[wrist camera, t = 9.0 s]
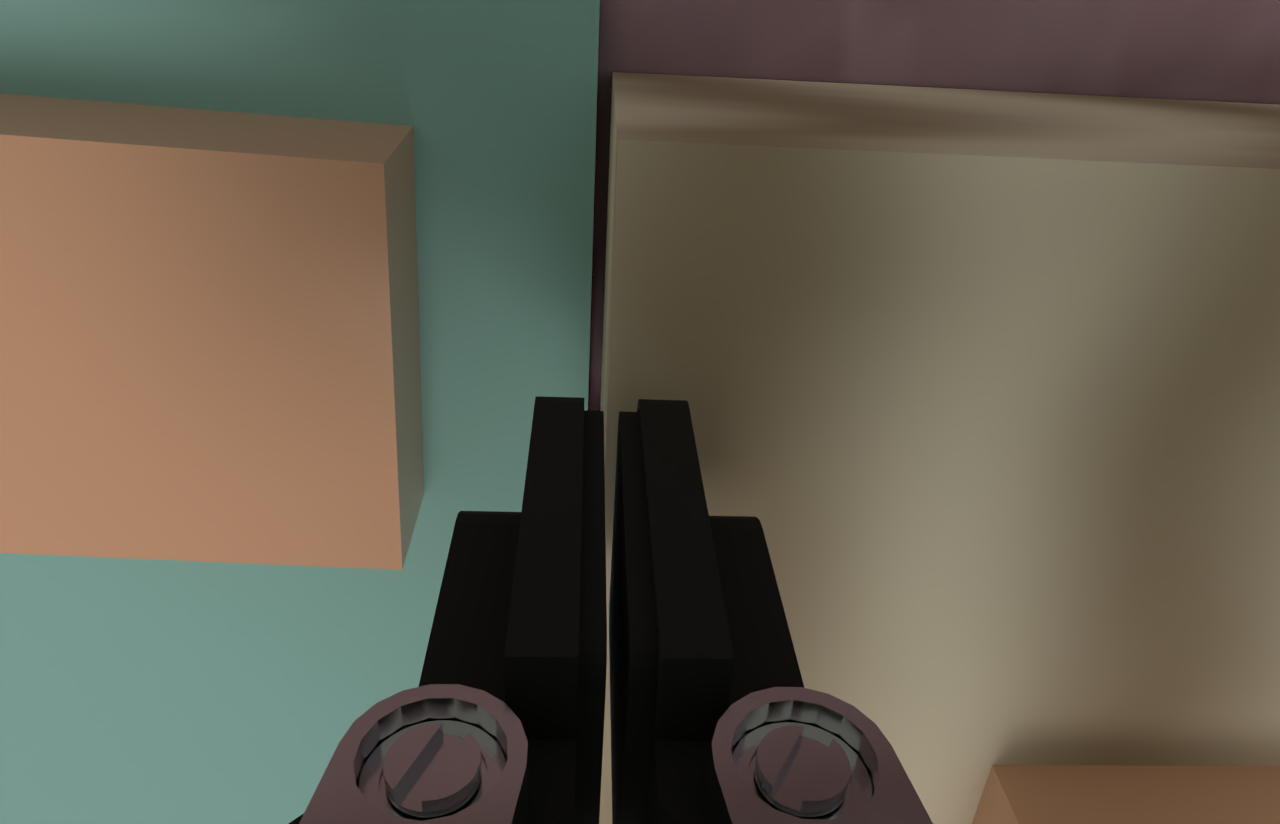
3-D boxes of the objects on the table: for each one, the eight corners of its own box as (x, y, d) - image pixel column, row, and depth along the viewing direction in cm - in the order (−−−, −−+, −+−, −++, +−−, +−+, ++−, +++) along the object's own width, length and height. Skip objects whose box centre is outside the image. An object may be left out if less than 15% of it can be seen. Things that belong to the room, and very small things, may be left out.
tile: (-165, 122, 10) (-55, 88, 12) (-25, 551, 13) (47, 474, 15) (383, 163, 11) (413, 126, 13) (402, 570, 14) (424, 493, 15)
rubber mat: (600, -9, 12) (600, -6, 12) (574, 862, 21) (573, 878, 21) (-529, -70, 11) (-566, -70, 11) (-64, 864, 20) (-76, 881, 20)
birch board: (1697, 124, 14) (2074, 204, 10) (1276, 832, 21) (1409, 1014, 18) (612, 72, 13) (617, 139, 9) (584, 833, 20) (582, 1026, 17)
